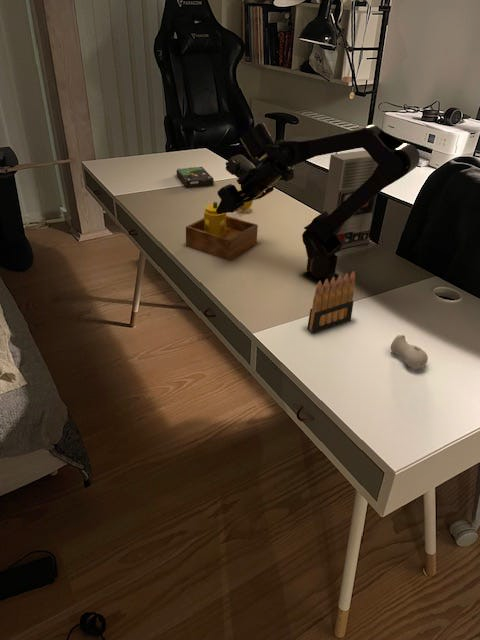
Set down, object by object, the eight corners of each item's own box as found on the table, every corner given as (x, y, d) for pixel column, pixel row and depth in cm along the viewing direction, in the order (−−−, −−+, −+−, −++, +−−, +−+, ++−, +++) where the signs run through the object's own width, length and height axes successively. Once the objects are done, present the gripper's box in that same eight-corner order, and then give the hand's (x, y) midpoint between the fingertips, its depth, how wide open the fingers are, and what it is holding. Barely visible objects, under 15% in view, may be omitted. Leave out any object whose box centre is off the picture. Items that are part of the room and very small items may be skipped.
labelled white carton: (330, 252, 139) (344, 160, 125) (318, 243, 143) (330, 154, 130) (369, 243, 144) (387, 155, 131) (356, 235, 149) (371, 149, 135)
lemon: (250, 215, 159) (251, 190, 155) (233, 213, 160) (234, 188, 156) (253, 208, 164) (255, 184, 159) (237, 207, 165) (237, 183, 160)
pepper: (230, 234, 140) (231, 203, 135) (214, 240, 136) (214, 208, 132) (215, 227, 144) (216, 197, 139) (199, 233, 140) (199, 201, 135)
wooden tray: (256, 243, 142) (258, 224, 139) (229, 260, 132) (229, 240, 129) (215, 229, 148) (215, 212, 145) (186, 245, 139) (185, 226, 136)
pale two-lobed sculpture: (427, 374, 97) (409, 373, 95) (401, 350, 103) (383, 349, 101) (438, 356, 95) (420, 355, 93) (411, 332, 101) (393, 331, 99)
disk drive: (214, 186, 181) (202, 173, 193) (214, 178, 180) (202, 166, 191) (186, 188, 178) (175, 175, 190) (186, 180, 177) (175, 167, 188)
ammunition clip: (312, 333, 105) (319, 283, 99) (306, 329, 107) (313, 279, 100) (350, 320, 110) (360, 272, 104) (345, 316, 111) (354, 268, 105)
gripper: (267, 139, 129) (230, 173, 140) (224, 154, 115) (188, 190, 126) (291, 176, 129) (252, 207, 140) (251, 195, 116) (212, 228, 127)
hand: (227, 207), depth 134 cm, fingers open, 9 cm apart
